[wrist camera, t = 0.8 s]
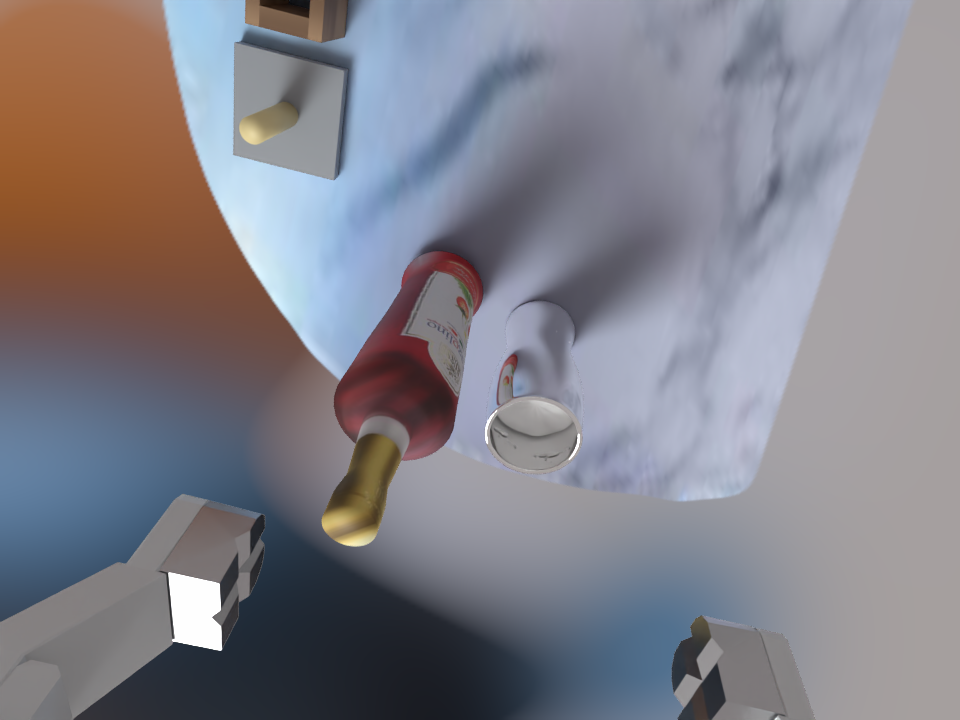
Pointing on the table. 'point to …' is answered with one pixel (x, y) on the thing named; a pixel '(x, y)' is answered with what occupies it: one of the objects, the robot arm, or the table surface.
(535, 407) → the beer glass
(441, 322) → the liquor
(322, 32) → the collar
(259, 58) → the post stand
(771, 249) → the table surface
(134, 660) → the robot arm
